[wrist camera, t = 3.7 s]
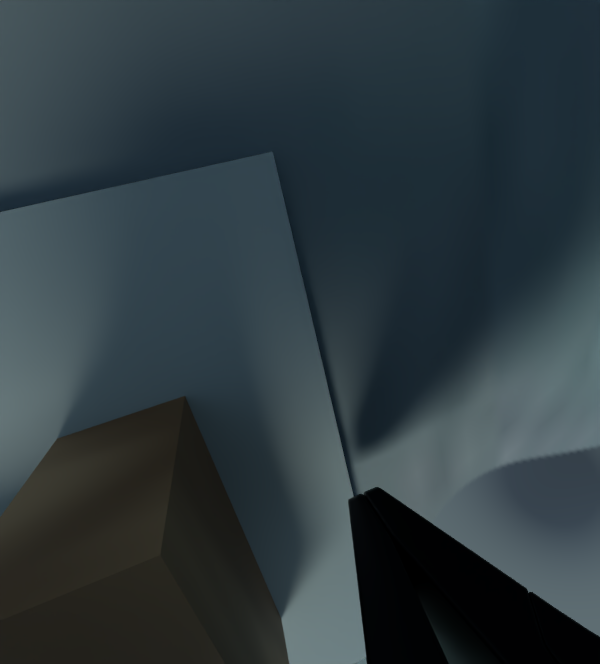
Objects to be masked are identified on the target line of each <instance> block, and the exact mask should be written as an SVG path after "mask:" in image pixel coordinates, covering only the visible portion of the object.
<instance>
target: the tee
mask: <svg viewBox="0 0 600 664" xmlns="http://www.w3.org/2000/svg"><path fill="white" fill-rule="evenodd" d="M0 664H289V659H288V653H287V648H286V642H285V636H284V631H283V625H282V620H281V617H280V615H279V612H278V610H277V608H276V605H275V603H274V601H273V598H272V596H271V594H270V591H269V589H268V587H267V584H266V582H265V580H264V577H263V575H262V573H261V571H260V568H259V566H258V564H257V561H256V559H255V557H254V554H253V552H252V550H251V547H250V545H249V543H248V540H247V538H246V536H245V534H244V531H243V529H242V527H241V524H240V522H239V520H238V517H237V515H236V513H235V510H234V508H233V506H232V503H231V501H230V499H229V497H228V494H227V492H226V490H225V487H224V485H223V483H222V480H221V478H220V476H219V473H218V471H217V469H216V466H215V464H214V462H213V460H212V457H211V455H210V453H209V450H208V448H207V446H206V443H205V441H204V439H203V436H202V434H201V432H200V429H199V427H198V425H197V422H196V420H195V418H194V416H193V413H192V411H191V409H190V406H189V404H188V402H187V399H186V397H185V396H183V397H180V398H177V399H174V400H171V401H168V402H165V403H162V404H159V405H156V406H153V407H150V408H147V409H144V410H141V411H138V412H135V413H132V414H129V415H126V416H123V417H120V418H117V419H114V420H111V421H108V422H105V423H102V424H99V425H96V426H93V427H90V428H87V429H84V430H81V431H78V432H75V433H72V434H69V435H66V436H63V437H60V438H57V439H56V441H55V442H54V444H53V445H52V446H51V448H50V449H49V450H48V452H47V453H46V455H45V456H44V457H43V459H42V460H41V461H40V463H39V464H38V466H37V467H36V468H35V470H34V471H33V472H32V474H31V475H30V477H29V478H28V479H27V481H26V482H25V484H24V485H23V486H22V488H21V489H20V490H19V492H18V493H17V495H16V496H15V497H14V499H13V500H12V501H11V503H10V504H9V506H8V507H7V508H6V510H5V511H4V512H3V514H2V515H1V517H0Z"/></svg>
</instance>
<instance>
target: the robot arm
mask: <svg viewBox="0 0 600 664" xmlns="http://www.w3.org/2000/svg"><path fill="white" fill-rule="evenodd" d="M348 507H349V515H350V524H351V532H352V541H353V549H354V558H355V566H356V575H357V583H358V592H359V600H360V609H361V617H362V626H363V634H364V643H365V651H366V660H367V664H600V637H599V636H598V635H596V634H594V633H593V632H591V631H589V630H588V629H586V628H585V627H583V626H582V625H580V624H579V623H577V622H576V621H574V620H573V619H571V618H570V617H568V616H567V615H565V614H564V613H562V612H561V611H559V610H558V609H556V608H554V607H553V606H552V605H550V604H549V603H547V602H546V601H544V600H543V599H541V598H540V597H539V596H537V595H536V594H534V593H533V592H529V593H528V590H527V589H526V588H525V587H524V586H522V585H521V584H519V583H518V582H516V581H515V580H514V579H512V578H511V577H509V576H508V575H506V574H505V573H503V572H502V571H500V570H499V569H498V568H496V567H495V566H493V565H492V564H490V563H489V562H487V561H486V560H484V559H483V558H481V557H480V556H479V555H477V554H476V553H474V552H473V551H471V550H470V549H468V548H467V547H465V546H464V545H463V544H461V543H460V542H458V541H457V540H455V539H454V538H452V537H451V536H449V535H448V534H446V533H445V532H443V531H442V530H441V529H439V528H438V527H436V526H435V525H433V524H432V523H431V522H429V521H428V520H426V519H425V518H423V517H422V516H420V515H419V514H417V513H416V512H414V511H413V510H412V509H410V508H409V507H407V506H406V505H404V504H403V503H401V502H400V501H398V500H397V499H396V498H394V497H393V496H391V495H390V494H388V493H387V492H385V491H384V490H382V489H381V488H379V487H375V488H373V489H370V490H368V491H366V492H364V495H363V494H359V495H356V496H354V497H352V498H350V499H349V500H348Z"/></svg>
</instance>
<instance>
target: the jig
mask: <svg viewBox="0 0 600 664" xmlns="http://www.w3.org/2000/svg"><path fill="white" fill-rule="evenodd" d="M183 396H185V397H186V399H187V402H188V404H189V406H190V409H191V411H192V413H193V416H194V418H195V420H196V422H197V425H198V427H199V429H200V432H201V434H202V436H203V439H204V441H205V443H206V446H207V448H208V450H209V453H210V455H211V457H212V460H213V462H214V464H215V466H216V469H217V471H218V473H219V476H220V478H221V480H222V483H223V485H224V487H225V490H226V492H227V494H228V497H229V499H230V501H231V503H232V506H233V508H234V510H235V513H236V515H237V517H238V520H239V522H240V524H241V527H242V529H243V531H244V534H245V536H246V538H247V540H248V543H249V545H250V547H251V550H252V552H253V554H254V557H255V559H256V561H257V564H258V566H259V568H260V571H261V573H262V575H263V577H264V580H265V582H266V584H267V587H268V589H269V591H270V594H271V596H272V598H273V601H274V603H275V605H276V608H277V610H278V612H279V615H280V617H281V620H282V625H283V631H284V636H285V642H286V648H287V653H288V659H289V664H355V663H357V662H359V661H361V660H362V659H364V658H366V651H365V643H364V634H363V626H362V617H361V609H360V600H359V592H358V583H357V575H356V566H355V558H354V549H353V541H352V532H351V524H350V515H349V507H348V500H349V499H350V498H352V497H354V496H353V492H352V487H351V483H350V479H349V475H348V470H347V466H346V462H345V458H344V453H343V449H342V445H341V441H340V436H339V432H338V428H337V423H336V419H335V415H334V411H333V406H332V402H331V398H330V394H329V389H328V385H327V381H326V377H325V372H324V368H323V364H322V360H321V355H320V351H319V347H318V342H317V338H316V334H315V330H314V325H313V321H312V317H311V313H310V308H309V304H308V300H307V296H306V291H305V287H304V283H303V279H302V274H301V270H300V266H299V261H298V257H297V253H296V249H295V244H294V240H293V236H292V232H291V227H290V223H289V219H288V215H287V210H286V206H285V202H284V198H283V193H282V189H281V185H280V180H279V176H278V172H277V168H276V163H275V159H274V155H273V152H268V153H264V154H259V155H255V156H250V157H246V158H241V159H237V160H232V161H228V162H223V163H219V164H214V165H210V166H205V167H201V168H196V169H192V170H187V171H183V172H178V173H174V174H169V175H165V176H160V177H156V178H151V179H147V180H142V181H138V182H133V183H129V184H124V185H120V186H115V187H111V188H106V189H102V190H97V191H93V192H88V193H84V194H79V195H75V196H70V197H66V198H61V199H57V200H52V201H48V202H43V203H39V204H34V205H30V206H25V207H21V208H16V209H12V210H7V211H3V212H0V517H1V515H2V514H3V512H4V511H5V510H6V508H7V507H8V506H9V504H10V503H11V501H12V500H13V499H14V497H15V496H16V495H17V493H18V492H19V490H20V489H21V488H22V486H23V485H24V484H25V482H26V481H27V479H28V478H29V477H30V475H31V474H32V472H33V471H34V470H35V468H36V467H37V466H38V464H39V463H40V461H41V460H42V459H43V457H44V456H45V455H46V453H47V452H48V450H49V449H50V448H51V446H52V445H53V444H54V442H55V441H56V439H57V438H60V437H63V436H66V435H69V434H72V433H75V432H78V431H81V430H84V429H87V428H90V427H93V426H96V425H99V424H102V423H105V422H108V421H111V420H114V419H117V418H120V417H123V416H126V415H129V414H132V413H135V412H138V411H141V410H144V409H147V408H150V407H153V406H156V405H159V404H162V403H165V402H168V401H171V400H174V399H177V398H180V397H183Z"/></svg>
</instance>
